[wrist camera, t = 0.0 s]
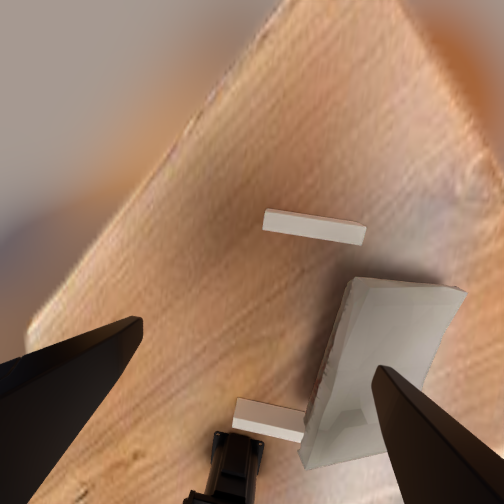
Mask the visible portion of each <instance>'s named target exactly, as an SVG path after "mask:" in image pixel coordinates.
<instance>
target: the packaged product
mask: <svg viewBox="0 0 504 504" xmlns="http://www.w3.org/2000/svg"><path fill="white" fill-rule="evenodd" d="M467 294H468V293H467V292H465V291H464V290H462V289H460V288H458V287H457V286H447V285H439V284H428V283H414V282H404V281H397V280H388V279H376V278H365V277H355V278H354V279H351V280H350V281H349V282H348V283H347V287H346V288H345V291H344V294H343V297H342V301H341V306H340V308H339V310H338V313H337V316H336V320H335V322H334V325H333V330H332V332H331V335H330V338H329V341H328V344H327V347H326V349H325V352H324V357H323V359H322V362H321V365H320V368H319V371H318V376H317V379H316V381H315V383H314V387H313V390H312V393H311V397H310V398H309V402H308V405H307V410H306V413H305V416H304V418H303V421H304V425H305V432H304V436H303V439H302V440H301V448H300V449H299V450H298V454H299V456H300V459H301V461H302V464H303V466H304V468H305V471H306V470H310V469H315V468H319V467H324V466H329V465H333V464H338V463H342V462H347V461H351V460H355V459H360V458H364V457H368V456H372V455H377V454H381V453H385V452H387V449H386V446H385V443H384V440H383V437H382V433H381V429H380V425H379V420H378V416H377V412H376V407H375V403H374V398H373V394H372V390H371V382H372V379H373V376H374V374H375V371H376V368H377V366H378V365H385V366H390V367H392V368H393V369H394V370H396V371H397V372H398V373H399V374H401V375H402V376H403V377H404V378H405V379H407V380H408V381H409V382H410V383H411V384H413V385H414V386H415V387H416V388H418V389H419V390H420V391H422V387H423V384H424V380H425V378H426V375H427V373H428V371H429V368H430V366H431V364H432V361H433V359H434V357H435V354H436V352H437V350H438V348H439V345H440V342H441V339H442V336H443V334H444V333H445V331H446V329H447V328H448V326H449V324H450V323H451V321H452V319H453V318H454V316H455V314H456V312H457V311H458V309H459V307H460V306H461V304H462V302H463V301H464V299H465V297H466V296H467Z"/></svg>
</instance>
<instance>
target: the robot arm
mask: <svg viewBox="0 0 504 504" xmlns="http://www.w3.org/2000/svg"><path fill="white" fill-rule="evenodd" d="M142 339H143V319H142V318H141V317H137V316H130V317H127V318H124V319H121V320H119V321H116V322H113V323H111V324H108V325H105V326H102V327H100V328H97V329H94V330H92V331H89V332H86V333H83V334H81V335H78V336H75V337H72V338H70V339H67V340H64V341H62V342H59V343H56V344H53V345H51V346H48V347H45V348H43V349H40V350H37V351H34V352H32V353H29V354H26V355H24V356H22V357H18V358H15V359H13V360H10V361H7V362H5V363H2V364H0V504H27V503H28V502H29V500H30V499H31V498H32V496H33V495H34V493H35V492H36V491H37V489H38V488H39V487H40V485H41V484H42V483H43V481H44V480H45V478H46V477H47V476H48V474H49V473H50V472H51V470H52V469H53V468H54V466H55V465H56V464H57V462H58V461H59V459H60V458H61V457H62V455H63V454H64V453H65V451H66V450H67V449H68V447H69V446H70V445H71V443H72V442H73V440H74V439H75V438H76V436H77V435H78V434H79V432H80V431H81V430H82V428H83V427H84V426H85V424H86V423H87V421H88V420H89V419H90V417H91V416H92V415H93V413H94V412H95V411H96V409H97V408H98V406H99V405H100V404H101V402H102V401H103V400H104V398H105V397H106V396H107V394H108V393H109V392H110V390H111V389H112V387H113V386H114V385H115V383H116V382H117V381H118V379H119V378H120V376H121V375H122V373H123V371H124V370H125V368H126V366H127V365H128V363H129V361H130V360H131V358H132V356H133V355H134V353H135V351H136V350H137V348H138V346H139V345H140V343H141V341H142ZM371 390H372V394H373V398H374V403H375V407H376V412H377V416H378V420H379V425H380V429H381V433H382V437H383V440H384V443H385V446H386V449H387V452H388V455H389V458H390V461H391V464H392V467H393V470H394V473H395V477H396V480H397V483H398V486H399V489H400V492H401V495H402V498H403V501H404V504H504V459H503V458H501V457H500V456H499V455H498V454H496V453H495V452H494V451H493V450H492V449H490V448H489V447H488V446H487V445H486V444H484V443H483V442H482V441H481V440H479V439H478V438H477V437H476V436H475V435H473V434H472V433H471V432H470V431H469V430H467V429H466V428H465V427H464V426H462V425H461V424H460V423H459V422H458V421H456V420H455V419H454V418H453V417H452V416H450V415H449V414H448V413H447V412H445V411H444V410H443V409H442V408H441V407H439V406H438V405H437V404H436V403H435V402H433V401H432V400H431V399H430V398H428V397H427V396H426V395H425V394H424V393H422V392H421V391H420V390H419V389H418V388H416V387H415V386H414V385H413V384H411V383H410V382H409V381H408V380H407V379H405V378H404V377H403V376H402V375H401V374H399V373H398V372H397V371H396V370H394V369H393V368H392V367H390V366H385V365H378V366H377V368H376V371H375V374H374V376H373V379H372V382H371ZM217 433H219V434H220V435H219V436H218V435H216V434H217ZM259 443H262V445H259ZM263 449H264V442H262V441H259V440H254V439H250V438H249V437H245V436H241V435H236V434H232V433H230V434H228V433H224V432H219V431H216V432H215V433H214V440H213V448H212V456H211V469H210V473H209V477H208V481H207V485H206V489H205V493H204V494H201V493H197V492H196V491H194V490H191V491H190V494H189V497H188V498H186V499H184V501H183V504H254V500H255V489H256V477H257V475H258V472H259V468H260V463H261V458H262V454H263Z"/></svg>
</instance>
